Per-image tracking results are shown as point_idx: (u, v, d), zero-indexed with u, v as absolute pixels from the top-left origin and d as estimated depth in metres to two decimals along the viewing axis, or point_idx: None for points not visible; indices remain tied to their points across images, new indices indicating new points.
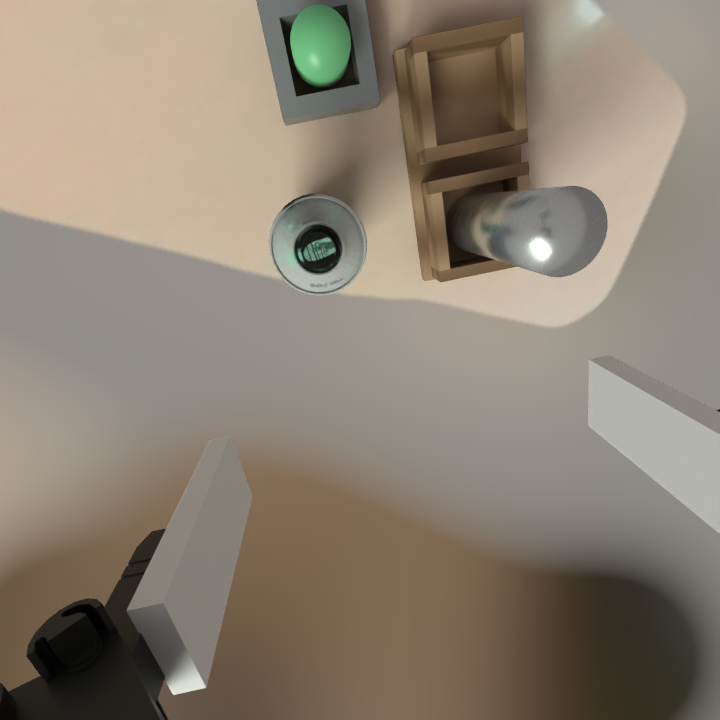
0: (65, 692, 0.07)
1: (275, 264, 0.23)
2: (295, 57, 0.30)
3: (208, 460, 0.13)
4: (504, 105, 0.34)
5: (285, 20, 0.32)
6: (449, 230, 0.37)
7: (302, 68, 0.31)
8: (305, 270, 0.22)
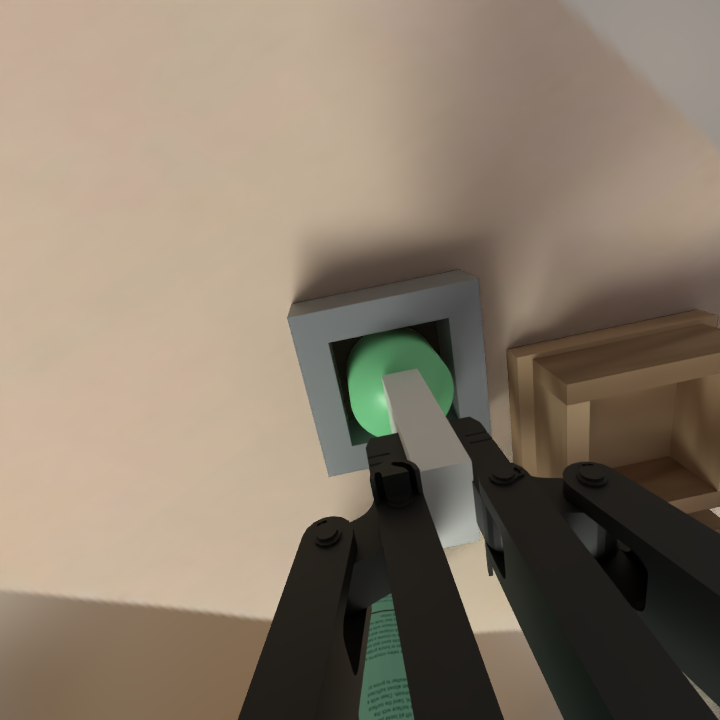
0: (386, 516, 0.10)
1: None
2: (357, 417, 0.18)
3: (394, 387, 0.15)
4: (693, 435, 0.21)
5: None
6: None
7: (368, 430, 0.18)
8: None
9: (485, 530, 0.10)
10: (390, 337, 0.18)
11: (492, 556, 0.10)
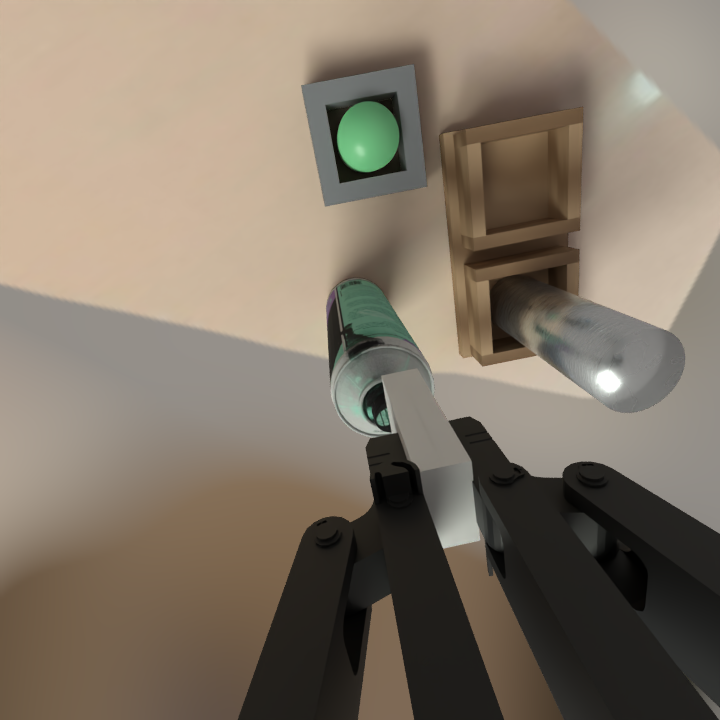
0: (386, 516, 0.10)
1: (338, 410, 0.21)
2: (342, 151, 0.30)
3: (394, 387, 0.15)
4: (556, 190, 0.33)
5: (330, 105, 0.30)
6: (492, 312, 0.36)
7: (349, 162, 0.30)
8: (372, 423, 0.20)
9: (485, 530, 0.10)
10: None
11: (492, 556, 0.10)
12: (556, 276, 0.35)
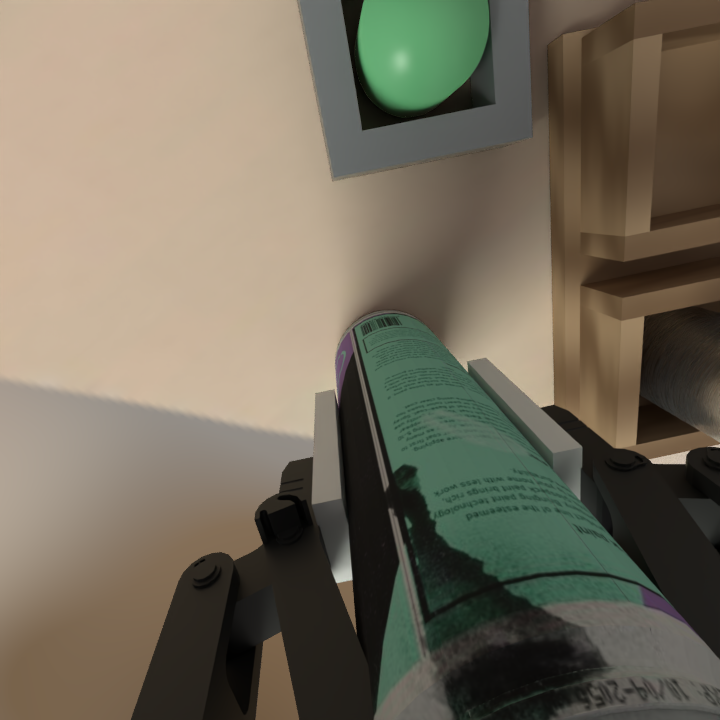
0: (276, 556, 0.09)
1: None
2: (370, 58, 0.14)
3: (323, 407, 0.15)
4: None
5: None
6: None
7: (383, 81, 0.14)
8: None
9: (593, 514, 0.10)
10: None
11: None
12: None
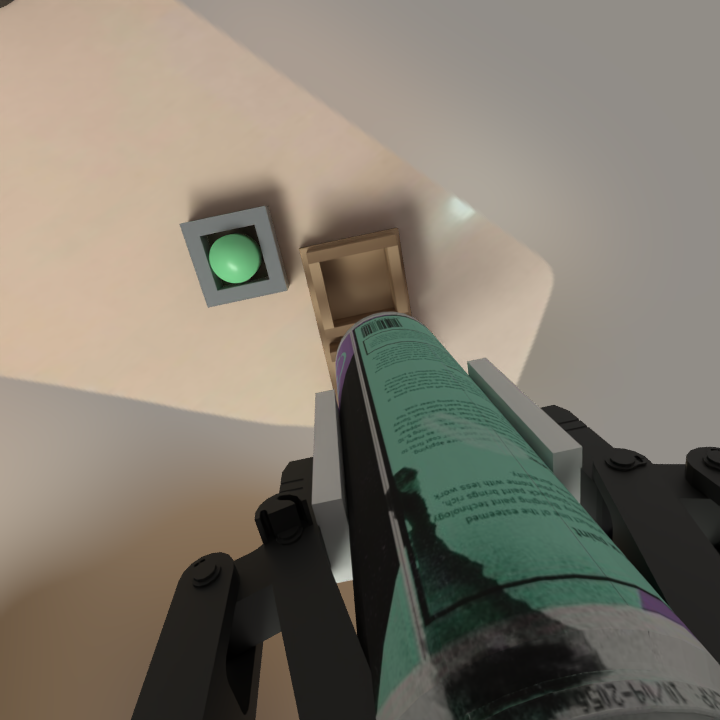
0: (276, 556, 0.09)
1: None
2: (214, 270, 0.39)
3: (323, 407, 0.15)
4: (392, 289, 0.42)
5: None
6: None
7: (220, 277, 0.39)
8: None
9: (593, 514, 0.10)
10: (229, 234, 0.39)
11: None
12: None
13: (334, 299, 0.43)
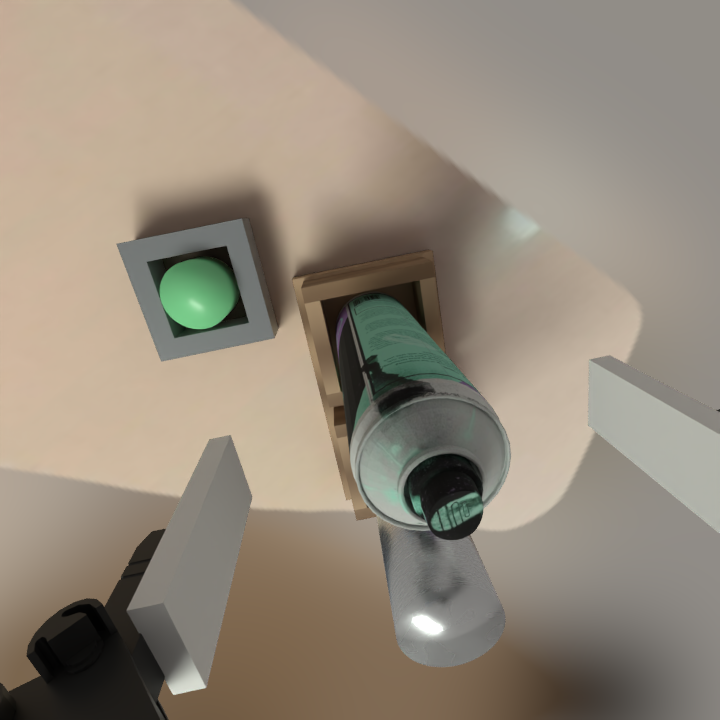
0: (65, 692, 0.07)
1: (362, 493, 0.14)
2: (167, 311, 0.27)
3: (208, 460, 0.13)
4: None
5: None
6: None
7: (177, 321, 0.27)
8: (419, 518, 0.13)
9: None
10: (191, 259, 0.27)
11: None
12: None
13: None
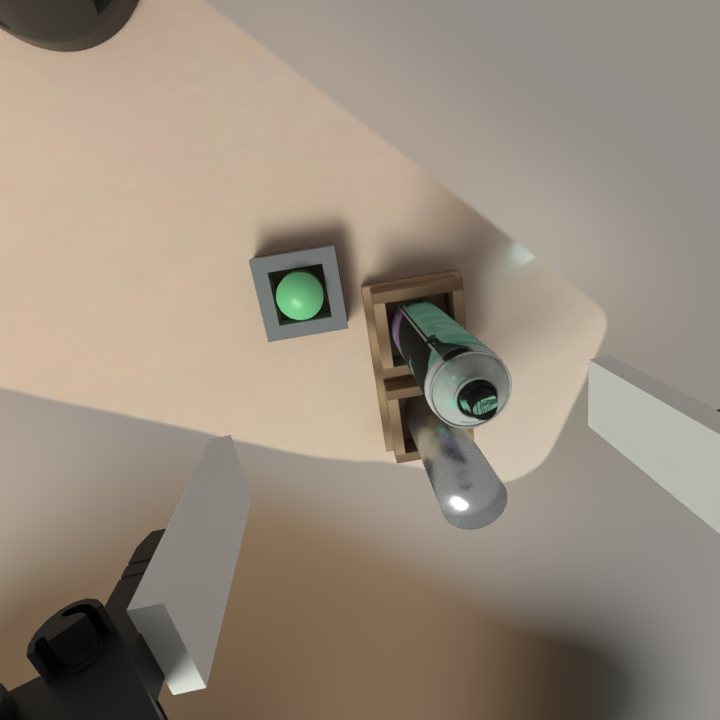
0: (65, 692, 0.07)
1: (432, 403, 0.26)
2: (279, 306, 0.39)
3: (208, 460, 0.13)
4: None
5: None
6: (406, 419, 0.45)
7: (285, 313, 0.39)
8: (464, 414, 0.25)
9: None
10: (296, 271, 0.39)
11: None
12: None
13: (391, 337, 0.43)
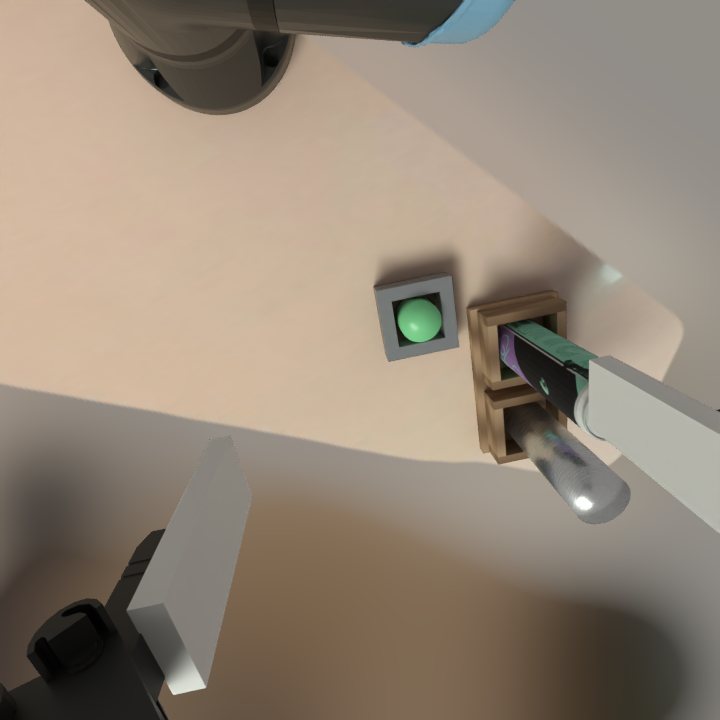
0: (65, 692, 0.07)
1: (585, 422, 0.31)
2: (402, 331, 0.43)
3: (208, 460, 0.13)
4: None
5: None
6: (505, 425, 0.50)
7: None
8: None
9: None
10: (415, 299, 0.44)
11: None
12: None
13: None
